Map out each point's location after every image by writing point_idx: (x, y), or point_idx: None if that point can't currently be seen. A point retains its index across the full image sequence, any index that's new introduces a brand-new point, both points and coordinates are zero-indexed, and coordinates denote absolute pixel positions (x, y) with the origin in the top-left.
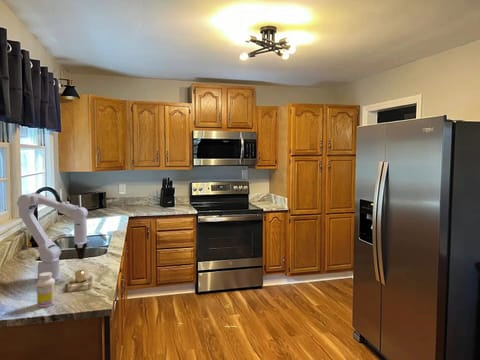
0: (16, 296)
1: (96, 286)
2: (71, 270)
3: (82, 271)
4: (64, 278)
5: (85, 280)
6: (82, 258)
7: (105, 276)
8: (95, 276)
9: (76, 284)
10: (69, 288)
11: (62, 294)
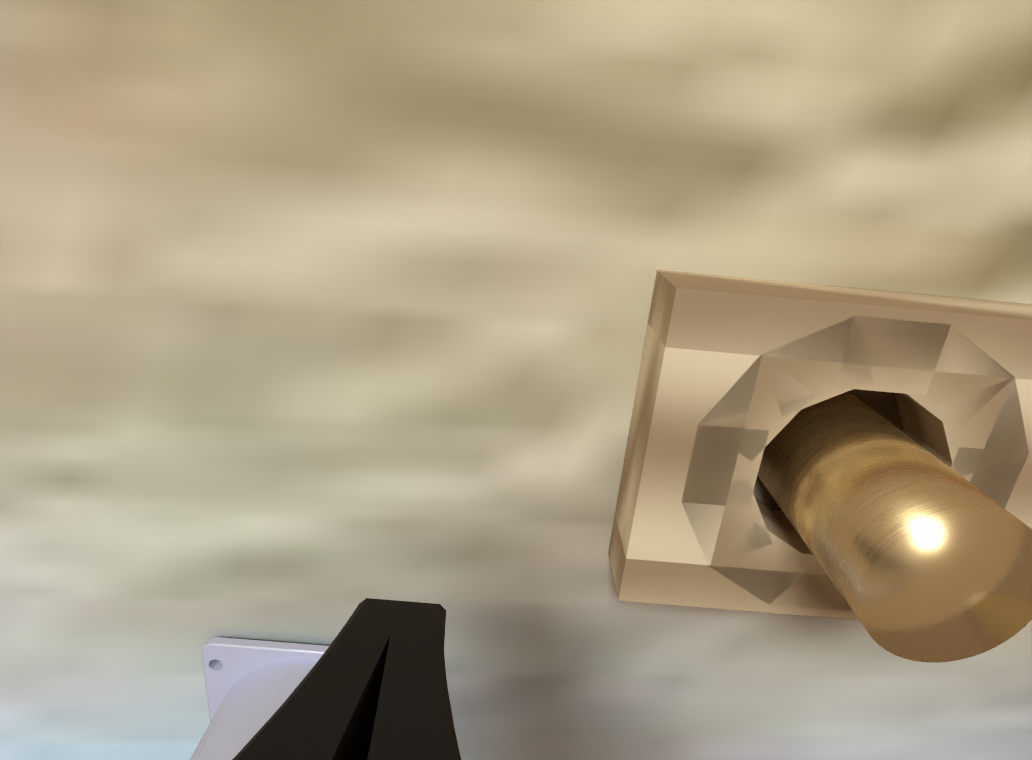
0: None
1: (988, 229)
2: (18, 517)
3: (993, 548)
4: None
5: (803, 397)
6: (444, 634)
7: (537, 15)
8: (457, 200)
9: None
10: None
11: None
